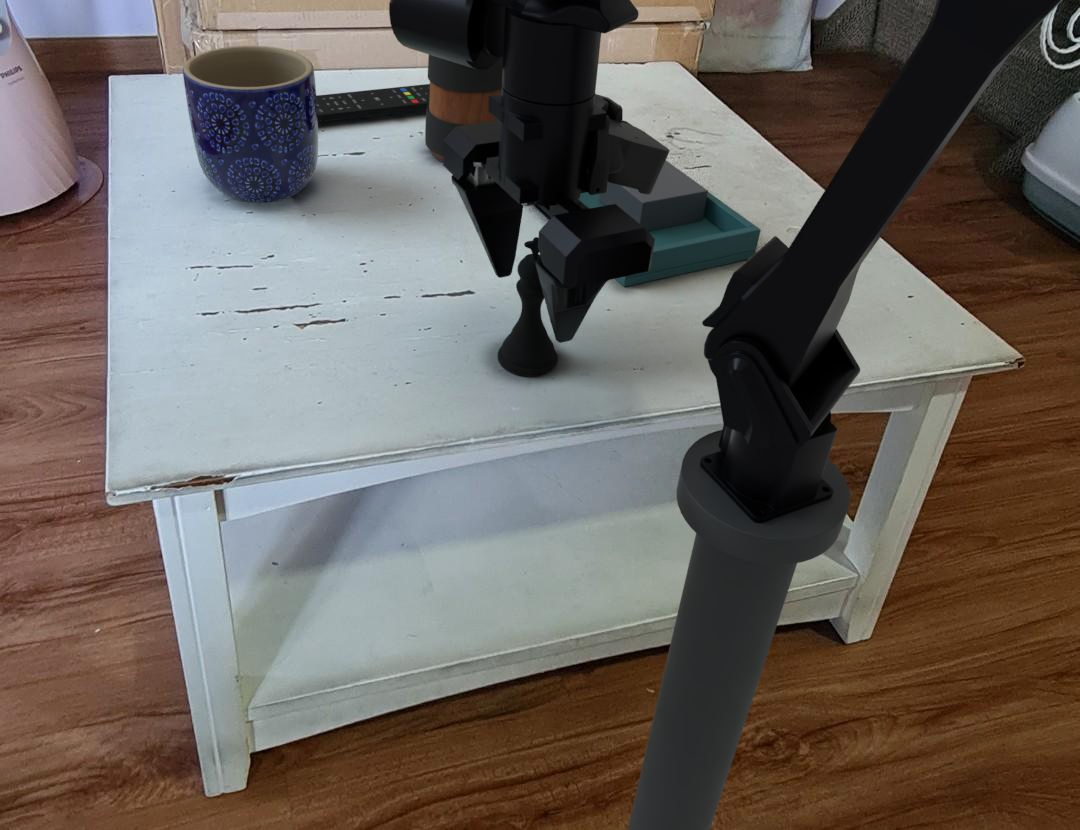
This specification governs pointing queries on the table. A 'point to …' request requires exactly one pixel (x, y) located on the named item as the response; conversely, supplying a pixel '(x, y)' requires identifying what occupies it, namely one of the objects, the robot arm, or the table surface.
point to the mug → (458, 98)
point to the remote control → (372, 102)
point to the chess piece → (529, 325)
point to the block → (661, 200)
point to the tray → (695, 242)
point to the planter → (253, 120)
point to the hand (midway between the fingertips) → (532, 306)
